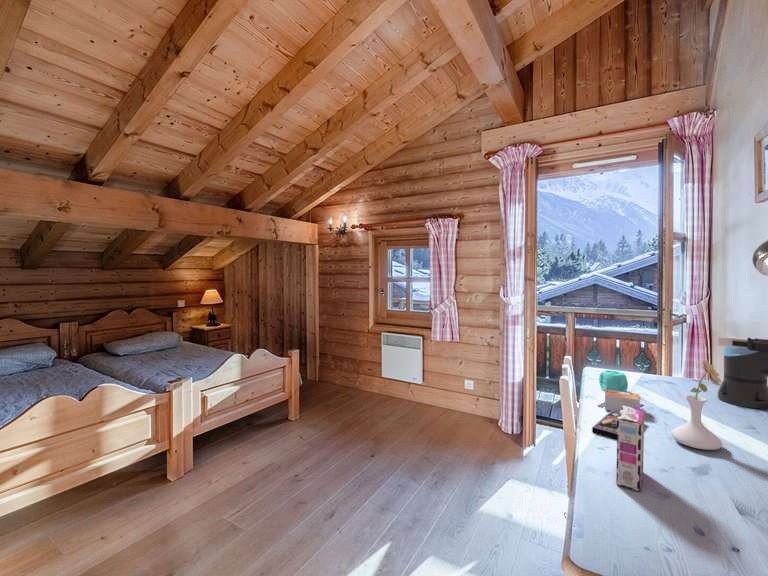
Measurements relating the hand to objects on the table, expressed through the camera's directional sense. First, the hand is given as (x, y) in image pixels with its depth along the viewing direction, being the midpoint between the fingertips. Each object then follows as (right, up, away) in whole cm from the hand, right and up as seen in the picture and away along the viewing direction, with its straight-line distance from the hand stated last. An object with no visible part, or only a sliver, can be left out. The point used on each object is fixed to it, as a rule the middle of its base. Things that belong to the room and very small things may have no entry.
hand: (719, 340), depth 112 cm
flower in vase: (-14, -29, -8) cm, 33 cm away
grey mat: (-16, -28, +23) cm, 40 cm away
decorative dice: (-8, -28, +40) cm, 49 cm away
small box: (-14, -25, +16) cm, 33 cm away
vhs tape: (-29, -30, +4) cm, 42 cm away
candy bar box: (-45, -31, -24) cm, 60 cm away
